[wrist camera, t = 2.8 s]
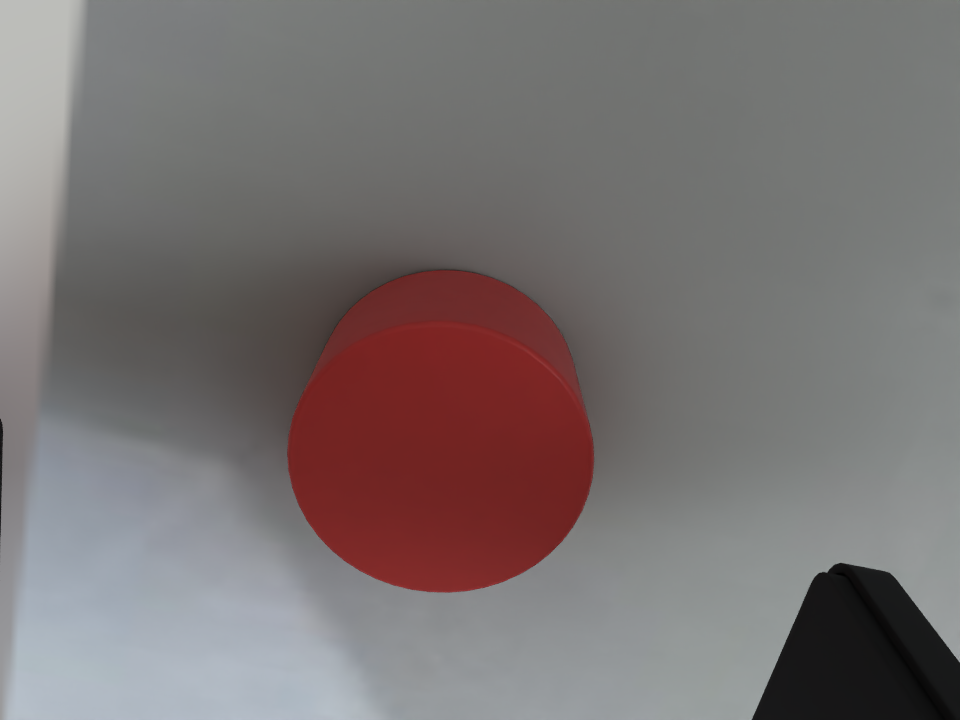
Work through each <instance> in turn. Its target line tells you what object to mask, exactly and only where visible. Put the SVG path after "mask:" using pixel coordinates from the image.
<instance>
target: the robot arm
mask: <svg viewBox="0 0 960 720" xmlns="http://www.w3.org/2000/svg"><path fill="white" fill-rule="evenodd" d="M2 441H3V427H2V422H1V419H0V533H1V491H2V446H3V442H2ZM0 535H1V534H0ZM752 720H960V662H959V661H958V660H957V658H956V657H955V656H954V655H953V653H952V652H951V651H950V649H949V648H948V647H947V645H946V644H945V643H944V641H943V640H942V639H941V637H940V636H939V635H938V634H937V632H936V631H935V630H934V628H933V627H932V626H931V624H930V623H929V622H928V620H927V619H926V618H925V616H924V615H923V614H922V613H921V611H920V610H919V609H918V607H917V606H916V605H915V603H914V602H913V601H912V599H911V598H910V597H909V595H908V594H907V593H906V592H905V590H904V589H903V588H902V586H901V585H900V584H899V582H898V581H897V580H896V578H895V577H894V576H892V575H891V574H890V573H889V572H885V571H881V570H875V569H870V568H865V567H860V566H854V565H849V564H844V563H839V564H836V565H834V566H833V567H832V568H831V569H830V570H829V571H828V573H826V572H822V573H819V574H818V575H817V576H815V578H814V579H813V581H812V583H811V585H810V587H809V590H808V592H807V594H806V596H805V599H804V601H803V603H802V606H801V608H800V610H799V613H798V615H797V617H796V619H795V622H794V624H793V626H792V629H791V631H790V633H789V636H788V638H787V640H786V642H785V645H784V647H783V649H782V652H781V654H780V656H779V659H778V661H777V663H776V665H775V668H774V670H773V672H772V675H771V677H770V679H769V682H768V684H767V686H766V688H765V691H764V693H763V695H762V698H761V700H760V702H759V705H758V707H757V709H756V711H755V714H754V716H753V718H752Z"/></svg>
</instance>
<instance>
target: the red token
mask: <svg viewBox="0 0 960 720" xmlns="http://www.w3.org/2000/svg"><path fill="white" fill-rule="evenodd" d="M287 457H288V471H289V475H290V480H291V484H292V488H293V491H294V494H295V496H296V499H297V502H298V504H299V507H300V508H301V510H302V512H303V514H304V516H305V518H306V520H307V521H308V523H309V524H310V526H311V527H312V528H313V530H314V531H315V532H316V534H317V535H318V536H319V538H320V539H321V540H322V541H323V542H324V543H325V544H326V545H327V546H328V547H329V548H330V549H331V550H332V551H333V552H334V553H336V554H337V555H338V556H339V557H340V558H342V559H343V560H344V561H346V562H347V563H349V564H350V565H352V566H353V567H355V568H356V569H358V570H359V571H361V572H363V573H365V574H367V575H369V576H371V577H373V578H375V579H378V580H381V581H383V582H386V583H389V584H392V585H395V586H399V587H403V588H407V589H411V590H418V591H426V592H448V593H449V592H461V591H470V590H475V589H480V588H485V587H488V586H491V585H495V584H498V583H501V582H504V581H506V580H508V579H510V578H513V577H515V576H517V575H519V574H521V573H523V572H524V571H526V570H528V569H529V568H531V567H533V566H534V565H536V564H537V563H539V562H540V561H541V560H542V559H544V558H545V557H546V556H547V555H549V554H550V553H551V552H552V551H553V550H554V549H555V548H556V547H557V546H558V545H559V544H560V543H561V542H562V541H563V539H564V538H565V537H566V535H567V534H568V533H569V531H570V530H571V529H572V528H573V526H574V524H575V523H576V521H577V519H578V517H579V516H580V514H581V512H582V510H583V508H584V505H585V503H586V500H587V497H588V495H589V491H590V487H591V483H592V478H593V469H594V447H593V438H592V434H591V429H590V425H589V421H588V417H587V413H586V409H585V405H584V401H583V398H582V394H581V390H580V386H579V382H578V378H577V375H576V371H575V367H574V363H573V359H572V357H571V354H570V351H569V349H568V346H567V344H566V342H565V340H564V338H563V336H562V334H561V333H560V331H559V329H558V328H557V327H556V325H555V324H554V322H553V321H552V320H551V318H550V317H549V316H548V315H547V314H546V313H545V312H544V311H543V310H542V309H541V308H540V307H539V306H538V305H537V304H536V303H535V302H533V301H532V300H531V299H530V298H528V297H527V296H526V295H525V294H523V293H521V292H520V291H518V290H516V289H515V288H513V287H511V286H510V285H507V284H505V283H503V282H500V281H498V280H496V279H493V278H490V277H487V276H483V275H480V274H476V273H470V272H464V271H455V270H436V271H427V272H420V273H416V274H411V275H407V276H403V277H401V278H398V279H396V280H393V281H390V282H388V283H386V284H384V285H382V286H380V287H378V288H377V289H375V290H373V291H372V292H370V293H369V294H367V295H366V296H365V297H363V298H362V299H361V300H359V301H358V302H357V303H356V304H355V305H354V306H353V307H352V308H351V309H350V310H349V311H348V312H347V313H346V314H345V315H344V317H343V318H342V319H341V320H340V322H339V323H338V324H337V326H336V327H335V329H334V331H333V333H332V334H331V336H330V338H329V340H328V342H327V344H326V346H325V348H324V350H323V352H322V354H321V356H320V358H319V360H318V362H317V365H316V367H315V369H314V371H313V373H312V375H311V377H310V379H309V381H308V383H307V385H306V387H305V390H304V392H303V394H302V396H301V398H300V400H299V402H298V405H297V407H296V410H295V412H294V415H293V418H292V422H291V426H290V431H289V436H288V449H287Z"/></svg>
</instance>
